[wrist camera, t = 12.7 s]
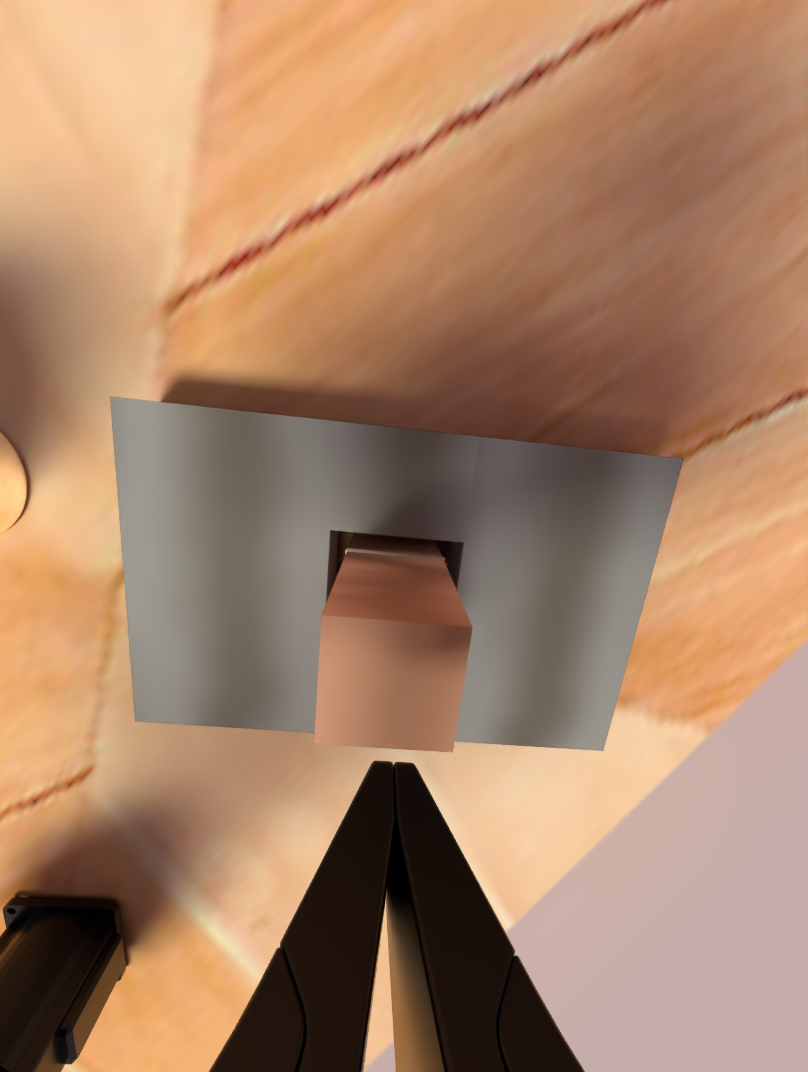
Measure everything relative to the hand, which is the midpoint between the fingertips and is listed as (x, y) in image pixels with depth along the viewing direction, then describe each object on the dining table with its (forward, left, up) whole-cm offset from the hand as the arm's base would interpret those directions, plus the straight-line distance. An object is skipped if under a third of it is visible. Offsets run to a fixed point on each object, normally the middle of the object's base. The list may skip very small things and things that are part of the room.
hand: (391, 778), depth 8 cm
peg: (0, 0, -12) cm, 12 cm away
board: (0, 0, -12) cm, 12 cm away
